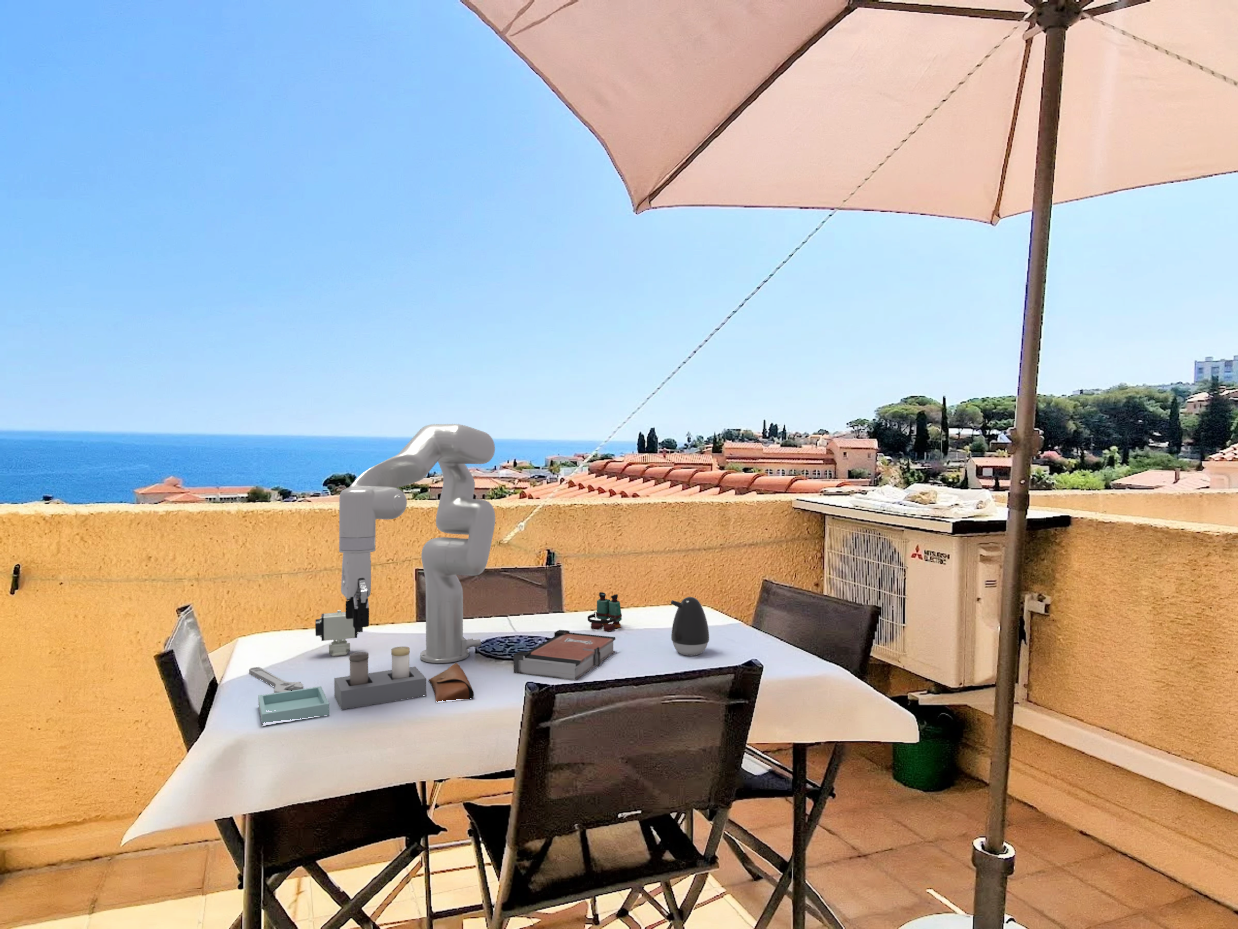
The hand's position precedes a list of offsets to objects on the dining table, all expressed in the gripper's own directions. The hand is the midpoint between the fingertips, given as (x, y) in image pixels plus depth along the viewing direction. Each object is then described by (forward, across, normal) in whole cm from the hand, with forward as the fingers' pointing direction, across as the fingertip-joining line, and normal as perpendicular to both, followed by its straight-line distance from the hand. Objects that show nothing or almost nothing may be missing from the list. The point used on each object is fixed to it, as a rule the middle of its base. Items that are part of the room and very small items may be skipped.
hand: (357, 622), depth 163 cm
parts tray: (+17, 0, -13) cm, 22 cm away
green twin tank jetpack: (+16, -30, +77) cm, 84 cm away
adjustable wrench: (+18, -22, -14) cm, 32 cm away
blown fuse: (+17, -1, +1) cm, 17 cm away
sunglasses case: (+18, +2, +20) cm, 27 cm away
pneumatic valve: (+17, -40, +2) cm, 43 cm away
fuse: (+17, -1, +10) cm, 20 cm away
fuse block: (+17, -1, +5) cm, 18 cm away
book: (+17, -4, +53) cm, 56 cm away
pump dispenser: (+16, +4, +85) cm, 87 cm away
